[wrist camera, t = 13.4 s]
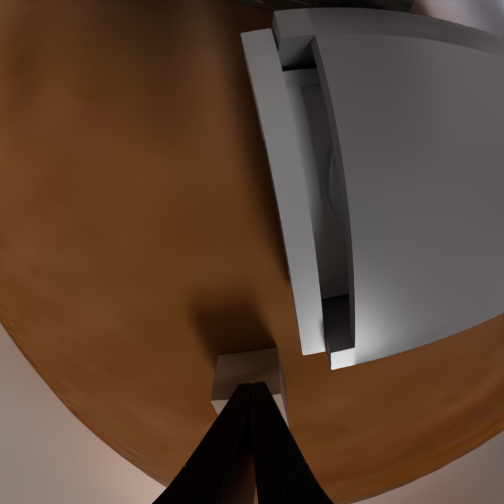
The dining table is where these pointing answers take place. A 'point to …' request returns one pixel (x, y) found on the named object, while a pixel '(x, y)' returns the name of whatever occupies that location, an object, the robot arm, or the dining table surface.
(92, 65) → the dining table surface
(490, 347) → the dining table surface
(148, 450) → the dining table surface
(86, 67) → the dining table surface
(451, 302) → the grey drawer cabinet
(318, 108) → the tray
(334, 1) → the radio
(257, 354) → the walnut block
